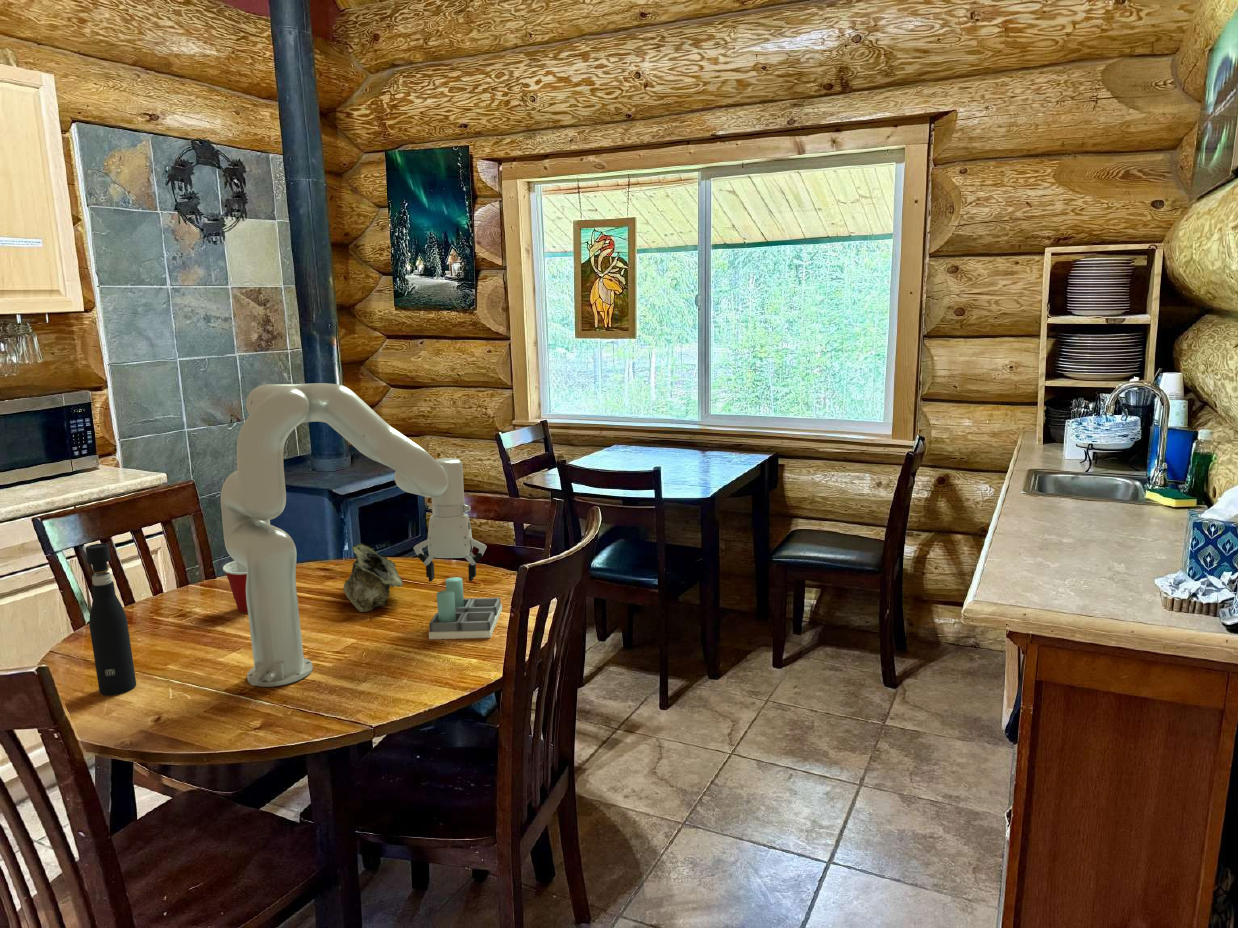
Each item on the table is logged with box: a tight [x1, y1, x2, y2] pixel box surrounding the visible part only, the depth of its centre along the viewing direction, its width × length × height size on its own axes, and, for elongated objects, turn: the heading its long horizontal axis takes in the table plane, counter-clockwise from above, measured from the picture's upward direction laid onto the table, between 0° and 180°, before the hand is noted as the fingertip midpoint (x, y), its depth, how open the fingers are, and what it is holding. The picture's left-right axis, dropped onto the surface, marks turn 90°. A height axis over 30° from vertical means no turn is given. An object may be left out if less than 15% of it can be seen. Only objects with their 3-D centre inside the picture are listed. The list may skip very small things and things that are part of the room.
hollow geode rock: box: [343, 543, 403, 613], centre depth 218 cm, size 28×13×15 cm
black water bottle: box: [85, 542, 137, 697], centre depth 165 cm, size 6×6×30 cm
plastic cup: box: [222, 560, 248, 614], centre depth 211 cm, size 11×11×12 cm
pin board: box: [428, 589, 503, 640], centre depth 196 cm, size 18×14×10 cm
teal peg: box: [444, 576, 465, 608], centre depth 201 cm, size 4×4×8 cm
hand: (451, 579), depth 200 cm, fingers open, 9 cm apart
